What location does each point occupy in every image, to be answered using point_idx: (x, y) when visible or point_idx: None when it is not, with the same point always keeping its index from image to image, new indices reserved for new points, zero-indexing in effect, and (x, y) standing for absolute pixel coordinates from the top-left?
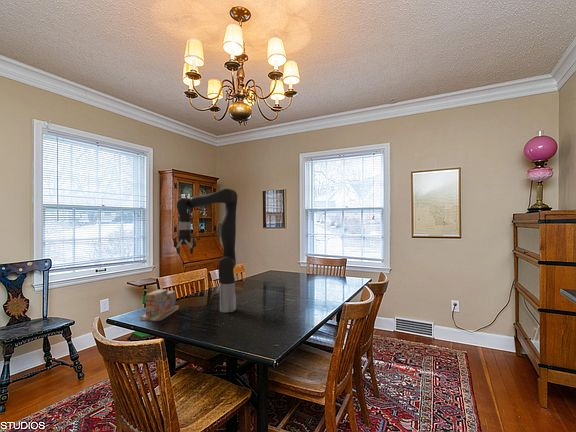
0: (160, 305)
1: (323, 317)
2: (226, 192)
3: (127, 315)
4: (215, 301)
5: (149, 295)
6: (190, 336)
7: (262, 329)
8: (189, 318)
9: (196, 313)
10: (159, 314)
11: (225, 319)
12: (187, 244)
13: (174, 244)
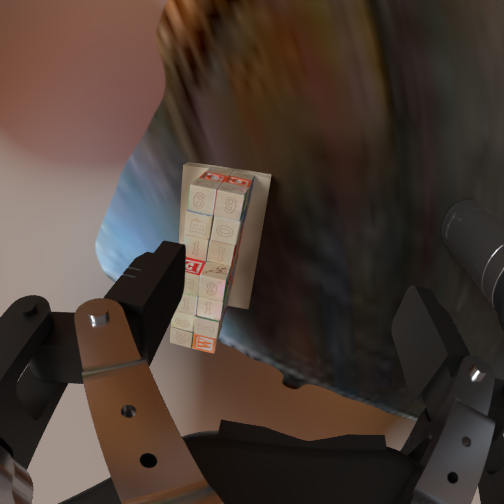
0: (228, 295)
1: None
2: None
3: (114, 239)
4: (418, 80)
5: (187, 345)
6: (355, 391)
7: (491, 361)
8: (341, 292)
9: (360, 244)
10: (233, 283)
11: (444, 308)
12: (371, 450)
13: (34, 406)
